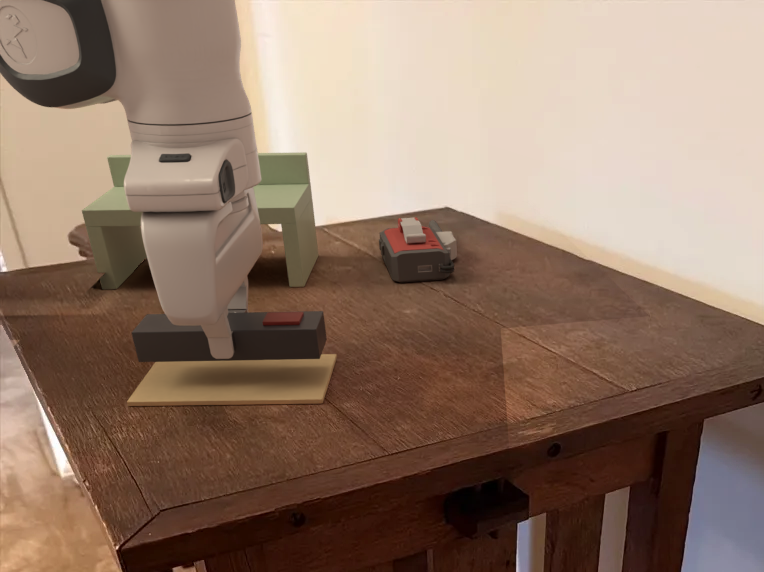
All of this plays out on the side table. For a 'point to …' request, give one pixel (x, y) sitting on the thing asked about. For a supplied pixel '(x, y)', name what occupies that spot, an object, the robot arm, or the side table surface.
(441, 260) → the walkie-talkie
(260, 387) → the mat
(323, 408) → the side table surface
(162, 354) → the remote
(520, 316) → the side table surface
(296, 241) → the green bench
